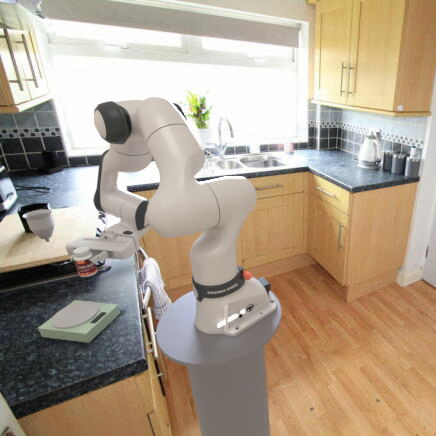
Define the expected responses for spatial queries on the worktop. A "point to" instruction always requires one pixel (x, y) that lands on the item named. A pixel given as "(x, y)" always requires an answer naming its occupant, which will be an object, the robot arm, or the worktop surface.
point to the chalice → (40, 223)
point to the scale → (80, 321)
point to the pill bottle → (84, 262)
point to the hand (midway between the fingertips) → (81, 260)
